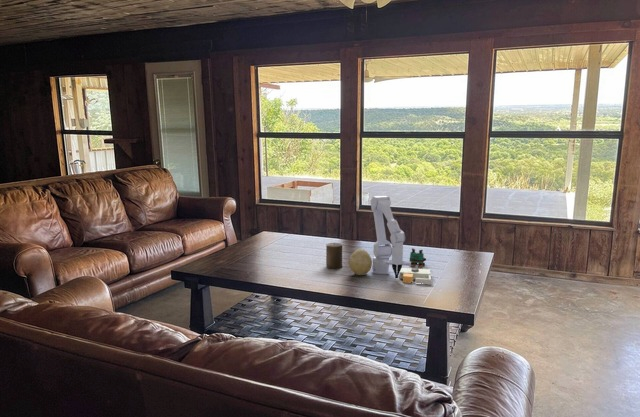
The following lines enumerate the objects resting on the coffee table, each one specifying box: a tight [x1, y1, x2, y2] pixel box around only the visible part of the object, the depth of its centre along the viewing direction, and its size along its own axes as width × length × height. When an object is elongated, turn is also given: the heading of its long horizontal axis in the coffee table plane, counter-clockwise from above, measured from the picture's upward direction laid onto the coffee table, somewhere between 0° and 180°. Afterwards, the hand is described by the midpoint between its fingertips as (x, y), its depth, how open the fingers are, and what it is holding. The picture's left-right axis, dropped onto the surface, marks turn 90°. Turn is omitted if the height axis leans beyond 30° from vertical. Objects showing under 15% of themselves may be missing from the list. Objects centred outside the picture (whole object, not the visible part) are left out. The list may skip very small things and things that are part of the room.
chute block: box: [402, 273, 414, 283], centre depth 251 cm, size 5×5×4 cm
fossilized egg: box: [348, 248, 373, 276], centre depth 260 cm, size 13×13×15 cm
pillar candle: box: [325, 242, 343, 270], centre depth 275 cm, size 10×10×15 cm
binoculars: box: [409, 248, 427, 268], centre depth 277 cm, size 9×11×10 cm
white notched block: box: [399, 267, 432, 285], centre depth 253 cm, size 16×16×4 cm
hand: (396, 277), depth 252 cm, fingers closed
